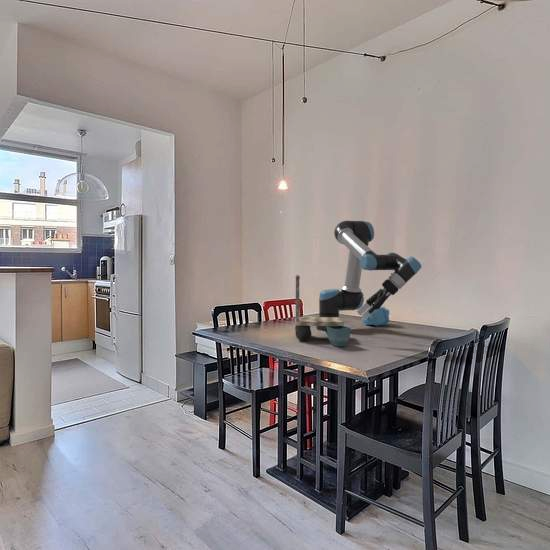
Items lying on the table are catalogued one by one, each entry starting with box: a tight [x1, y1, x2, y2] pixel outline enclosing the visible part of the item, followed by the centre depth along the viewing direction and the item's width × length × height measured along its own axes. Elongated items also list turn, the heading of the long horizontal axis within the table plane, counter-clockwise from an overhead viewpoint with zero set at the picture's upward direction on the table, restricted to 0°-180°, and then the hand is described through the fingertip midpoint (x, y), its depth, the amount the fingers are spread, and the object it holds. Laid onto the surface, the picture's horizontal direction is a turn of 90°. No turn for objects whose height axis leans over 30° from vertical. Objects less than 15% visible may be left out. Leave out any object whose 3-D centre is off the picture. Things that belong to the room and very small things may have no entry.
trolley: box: [294, 274, 345, 342], centre depth 208 cm, size 24×16×33 cm, turn 88°
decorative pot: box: [361, 306, 391, 327], centre depth 251 cm, size 16×16×14 cm
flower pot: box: [326, 325, 352, 348], centre depth 191 cm, size 9×9×9 cm
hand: (360, 315), depth 190 cm, fingers open, 13 cm apart
